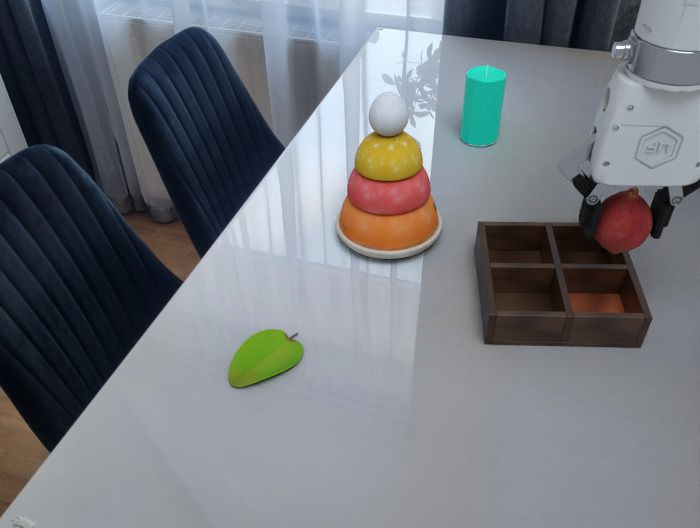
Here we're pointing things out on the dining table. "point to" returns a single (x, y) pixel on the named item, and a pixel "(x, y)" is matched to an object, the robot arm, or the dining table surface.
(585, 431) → the dining table surface
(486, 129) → the candle
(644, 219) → the onion
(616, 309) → the grid
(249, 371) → the decorative leaf
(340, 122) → the dining table surface
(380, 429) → the dining table surface
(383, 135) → the stacking toy
